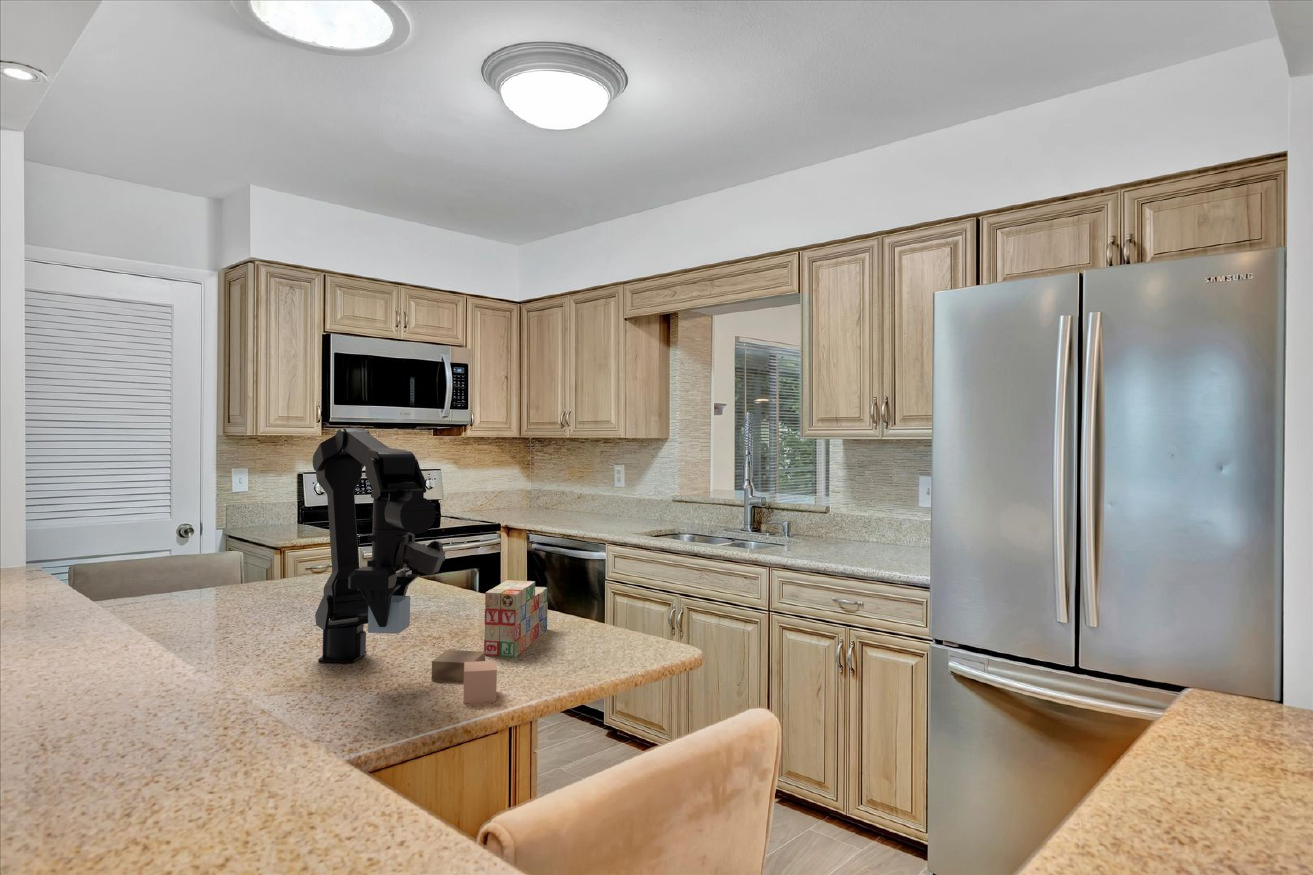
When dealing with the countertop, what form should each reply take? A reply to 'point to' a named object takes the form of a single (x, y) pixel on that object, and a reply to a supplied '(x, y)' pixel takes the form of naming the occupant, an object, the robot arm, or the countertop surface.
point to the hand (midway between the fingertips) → (389, 622)
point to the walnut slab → (453, 664)
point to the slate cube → (392, 617)
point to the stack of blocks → (514, 617)
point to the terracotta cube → (480, 681)
